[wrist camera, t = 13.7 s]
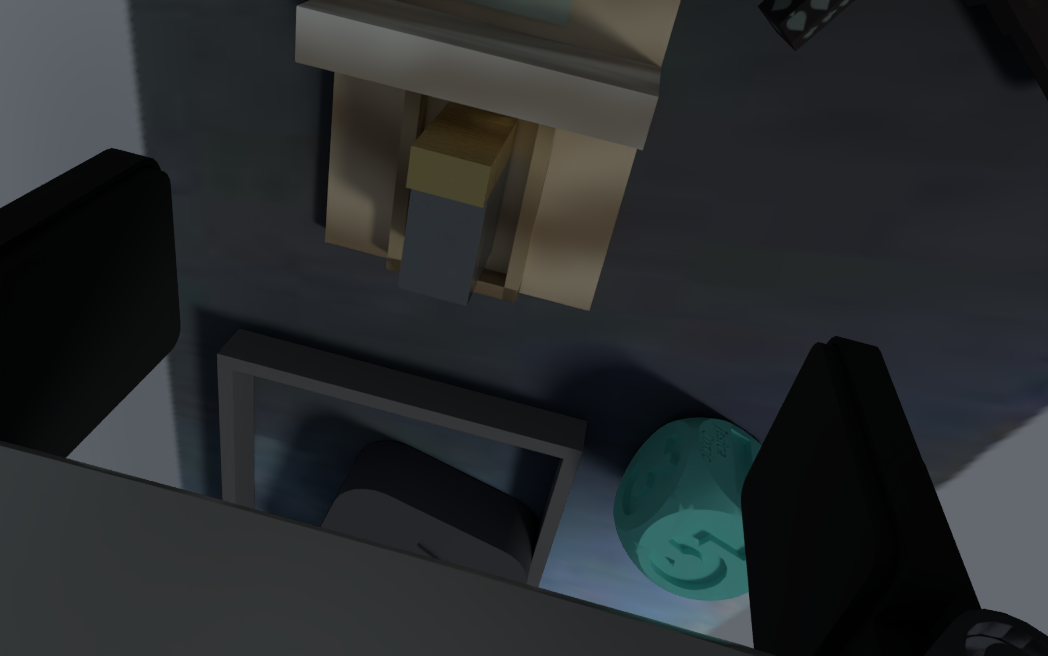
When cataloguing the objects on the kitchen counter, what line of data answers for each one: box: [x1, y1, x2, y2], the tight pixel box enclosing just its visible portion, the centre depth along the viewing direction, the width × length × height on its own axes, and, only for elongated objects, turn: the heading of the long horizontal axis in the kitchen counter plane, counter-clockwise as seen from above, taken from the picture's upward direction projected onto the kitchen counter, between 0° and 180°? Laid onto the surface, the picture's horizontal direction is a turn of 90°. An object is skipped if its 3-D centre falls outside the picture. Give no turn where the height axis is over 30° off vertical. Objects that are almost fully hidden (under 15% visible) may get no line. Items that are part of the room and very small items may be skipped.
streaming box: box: [320, 441, 538, 584], centre depth 57 cm, size 14×14×5 cm
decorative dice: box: [613, 417, 762, 600], centre depth 48 cm, size 8×8×8 cm
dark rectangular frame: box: [217, 328, 587, 587], centre depth 56 cm, size 24×24×3 cm
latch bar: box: [398, 101, 519, 306], centre depth 39 cm, size 8×4×7 cm, turn 168°
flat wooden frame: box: [295, 0, 681, 311], centre depth 36 cm, size 26×16×6 cm, turn 169°
